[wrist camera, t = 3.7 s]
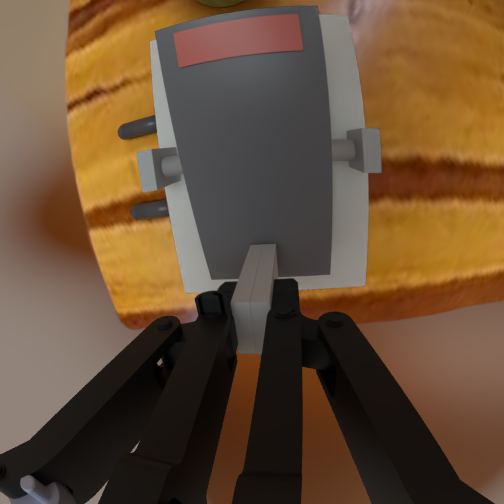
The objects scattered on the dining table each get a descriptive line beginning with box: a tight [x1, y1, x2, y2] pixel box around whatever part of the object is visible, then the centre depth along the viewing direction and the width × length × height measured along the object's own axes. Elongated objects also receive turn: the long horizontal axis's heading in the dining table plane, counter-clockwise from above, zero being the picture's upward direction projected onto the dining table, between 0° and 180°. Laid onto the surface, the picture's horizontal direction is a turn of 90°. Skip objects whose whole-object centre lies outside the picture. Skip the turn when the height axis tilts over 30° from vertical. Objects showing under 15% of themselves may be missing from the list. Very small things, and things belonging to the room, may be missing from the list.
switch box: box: [118, 14, 382, 293], centre depth 19 cm, size 21×20×10 cm
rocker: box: [155, 6, 355, 280], centre depth 14 cm, size 11×16×2 cm, turn 6°
